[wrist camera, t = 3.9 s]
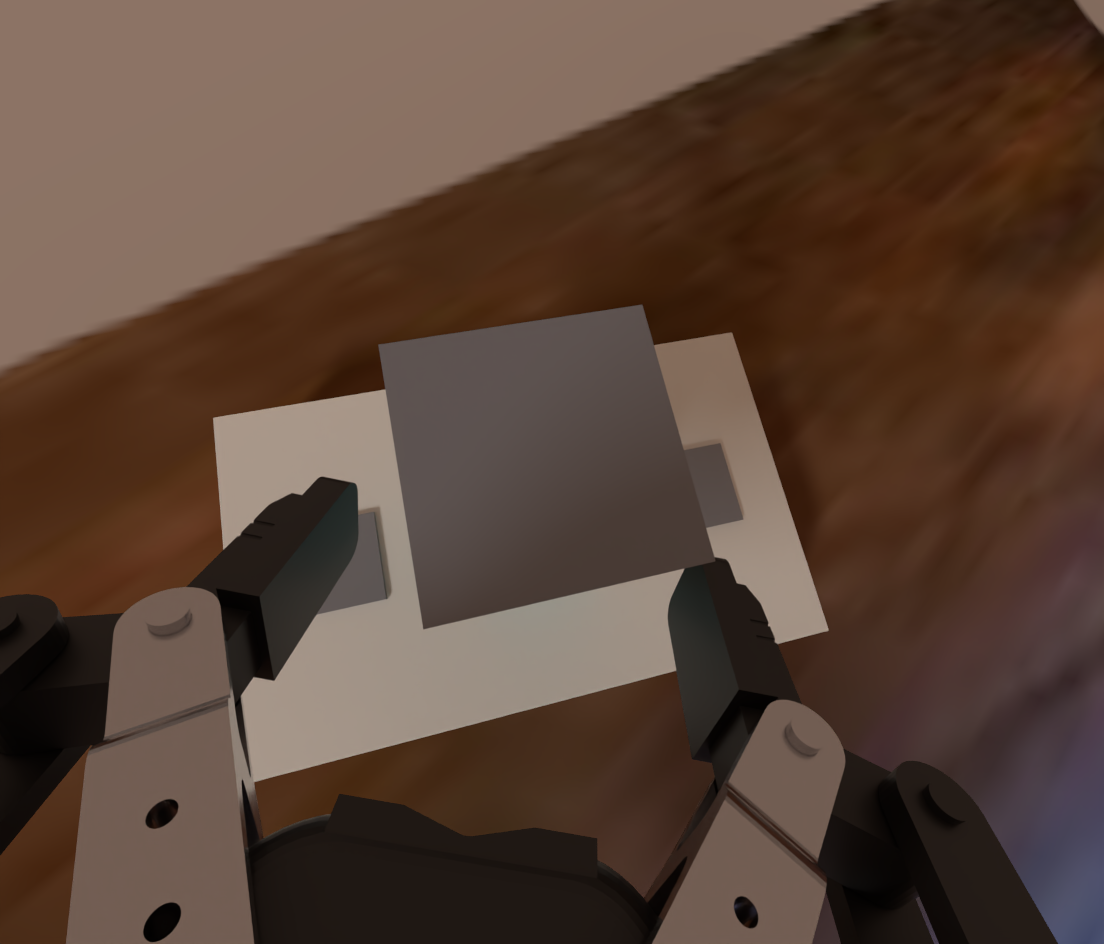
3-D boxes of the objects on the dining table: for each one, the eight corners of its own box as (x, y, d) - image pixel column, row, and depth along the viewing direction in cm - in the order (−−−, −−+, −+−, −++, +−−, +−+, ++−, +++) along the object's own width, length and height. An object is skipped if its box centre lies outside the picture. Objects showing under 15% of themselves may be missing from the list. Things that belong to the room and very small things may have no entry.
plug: (558, 478, 22) (642, 304, 8) (580, 574, 21) (715, 561, 7) (461, 497, 21) (378, 344, 8) (480, 597, 20) (423, 629, 7)
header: (694, 373, 23) (734, 329, 19) (769, 621, 21) (832, 631, 17) (268, 448, 21) (209, 415, 17) (298, 742, 18) (238, 787, 14)
